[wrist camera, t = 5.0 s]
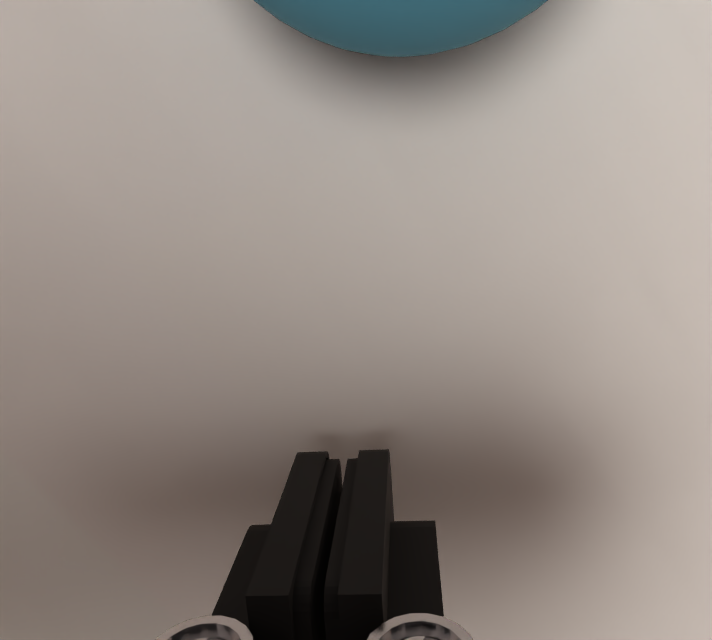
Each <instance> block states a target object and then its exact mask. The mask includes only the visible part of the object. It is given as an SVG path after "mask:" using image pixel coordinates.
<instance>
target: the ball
mask: <svg viewBox="0 0 712 640" xmlns="http://www.w3.org/2000/svg"><path fill="white" fill-rule="evenodd" d="M254 1H255V2H256V3H258V4H259V5H260V6H262V7H263V8H264V9H265V10H267V11H268V12H269V13H271V14H272V15H273V16H275V17H276V18H277V19H279V20H280V21H282V22H284V23H285V24H287V25H289V26H291V27H293V28H294V29H296V30H298V31H300V32H301V33H303V34H305V35H307V36H309V37H311V38H314V39H316V40H319V41H322V42H324V43H327V44H330V45H332V46H335V47H338V48H341V49H345V50H349V51H354V52H360V53H365V54H371V55H378V56H390V57H407V56H420V55H428V54H434V53H439V52H443V51H447V50H451V49H455V48H459V47H463V46H466V45H469V44H472V43H475V42H477V41H479V40H482V39H484V38H486V37H488V36H491V35H493V34H495V33H498V32H500V31H502V30H504V29H506V28H507V27H509V26H511V25H512V24H514V23H515V22H517V21H519V20H520V19H522V18H524V17H525V16H527V15H528V14H530V13H532V12H533V11H535V10H536V9H538V8H539V7H540V6H541V5H542V4H544V3H545V2H546V1H547V0H254Z"/></svg>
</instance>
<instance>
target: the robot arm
mask: <svg viewBox="0 0 712 640" xmlns="http://www.w3.org/2000/svg"><path fill="white" fill-rule="evenodd" d="M155 640H473V638H472V637H471V635H470V634H469V633H468V632H467V631H466V630H465V629H464V628H462V627H461V626H460V625H459V624H458V623H456V622H453V621H451V620H449V619H447V618H445V617H444V614H443V603H442V592H441V581H440V570H439V560H438V549H437V538H436V527H435V521H397V522H394V513H393V497H392V481H391V466H390V453H389V449H387V450H359V455H358V458H356V459H348V460H347V466H346V471H345V476H344V482H343V487H342V477H341V466H340V460H339V459H329V454H328V452H298V453H297V455H296V457H295V460H294V463H293V466H292V468H291V471H290V474H289V477H288V479H287V482H286V485H285V488H284V490H283V493H282V496H281V499H280V501H279V504H278V507H277V510H276V512H275V515H274V518H273V521H272V524H271V525H252V526H250V527H249V529H248V531H247V533H246V535H245V537H244V540H243V542H242V545H241V547H240V549H239V552H238V554H237V556H236V559H235V561H234V564H233V566H232V568H231V571H230V573H229V575H228V578H227V580H226V583H225V585H224V587H223V590H222V592H221V594H220V597H219V599H218V602H217V604H216V606H215V609H214V611H213V613H212V616H202V617H198V618H193V619H189V620H186V621H184V622H182V623H180V624H177V625H175V626H173V627H171V628H170V629H168V630H167V631H165V632H164V633H162V634H161V635H160V636H158V637H157V638H156V639H155Z"/></svg>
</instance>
